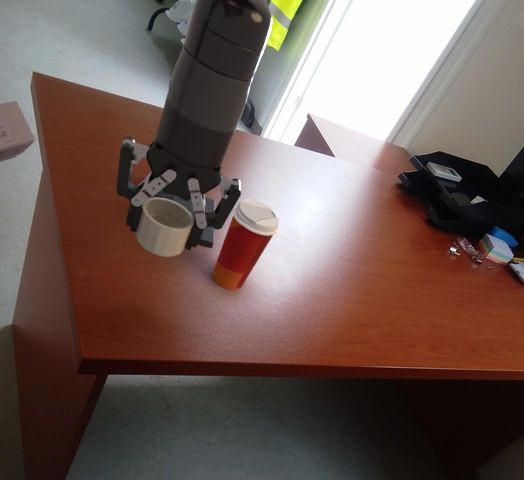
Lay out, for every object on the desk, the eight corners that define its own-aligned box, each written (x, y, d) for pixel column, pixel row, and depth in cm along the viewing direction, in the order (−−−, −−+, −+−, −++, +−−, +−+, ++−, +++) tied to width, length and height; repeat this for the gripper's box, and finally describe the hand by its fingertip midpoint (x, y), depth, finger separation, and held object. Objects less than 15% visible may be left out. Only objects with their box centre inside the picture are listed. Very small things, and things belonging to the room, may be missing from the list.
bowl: (130, 249, 55) (139, 219, 52) (137, 220, 59) (145, 190, 56) (181, 265, 57) (192, 236, 54) (184, 236, 61) (195, 208, 58)
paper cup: (236, 263, 84) (267, 199, 74) (255, 293, 80) (290, 229, 71) (199, 263, 79) (227, 194, 70) (216, 295, 76) (249, 227, 66)
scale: (131, 222, 79) (135, 208, 77) (142, 180, 89) (145, 166, 87) (211, 248, 84) (217, 235, 82) (213, 205, 94) (218, 192, 92)
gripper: (127, 90, 41) (96, 236, 53) (270, 151, 46) (214, 272, 57) (137, 64, 47) (107, 202, 58) (265, 121, 51) (215, 238, 62)
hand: (161, 237), depth 57 cm, fingers closed on bowl, 6 cm apart
